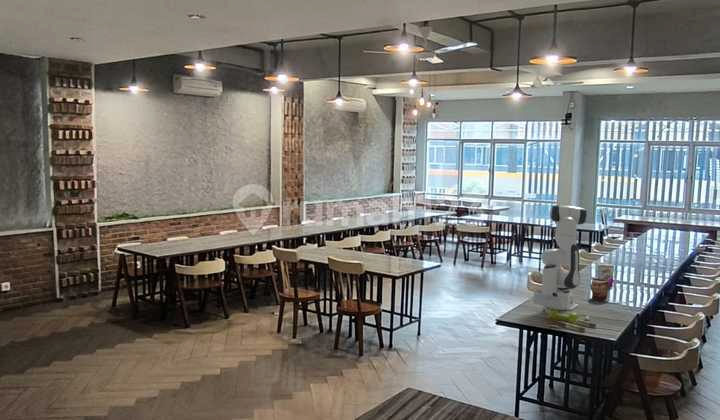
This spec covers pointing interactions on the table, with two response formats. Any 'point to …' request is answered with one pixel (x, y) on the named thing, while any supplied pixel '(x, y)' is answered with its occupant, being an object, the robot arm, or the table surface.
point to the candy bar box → (606, 273)
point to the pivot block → (586, 319)
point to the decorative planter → (599, 289)
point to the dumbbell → (563, 317)
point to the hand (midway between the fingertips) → (548, 313)
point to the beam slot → (571, 324)
